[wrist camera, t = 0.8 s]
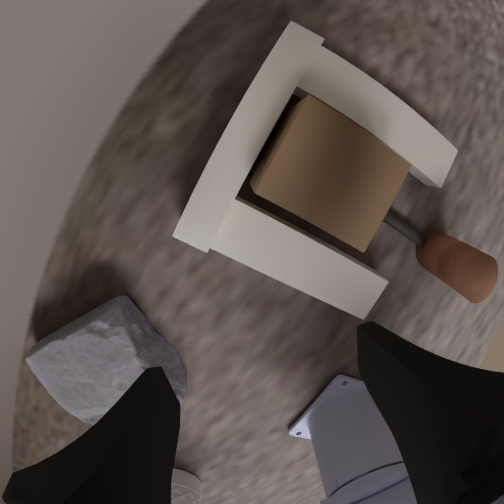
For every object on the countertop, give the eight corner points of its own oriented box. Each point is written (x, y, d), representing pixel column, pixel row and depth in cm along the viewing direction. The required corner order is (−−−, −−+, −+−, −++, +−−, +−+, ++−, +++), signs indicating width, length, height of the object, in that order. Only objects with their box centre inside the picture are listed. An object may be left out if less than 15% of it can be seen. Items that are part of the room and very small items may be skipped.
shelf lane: (440, 149, 18) (467, 151, 15) (353, 305, 21) (369, 327, 18) (282, 39, 15) (290, 20, 12) (181, 223, 18) (172, 236, 15)
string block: (457, 230, 20) (510, 255, 14) (426, 285, 21) (472, 322, 15) (288, 109, 17) (314, 90, 11) (248, 182, 18) (256, 196, 12)
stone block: (202, 363, 24) (122, 277, 19) (203, 411, 20) (104, 326, 15) (106, 397, 25) (31, 333, 21) (98, 437, 21) (12, 373, 16)
